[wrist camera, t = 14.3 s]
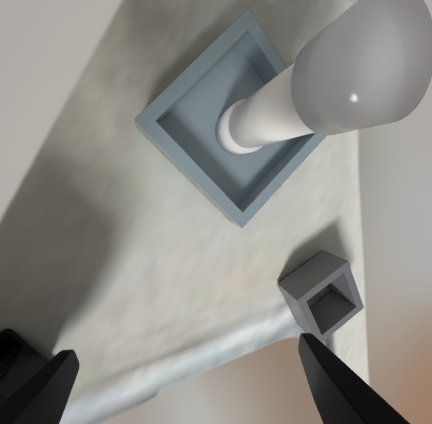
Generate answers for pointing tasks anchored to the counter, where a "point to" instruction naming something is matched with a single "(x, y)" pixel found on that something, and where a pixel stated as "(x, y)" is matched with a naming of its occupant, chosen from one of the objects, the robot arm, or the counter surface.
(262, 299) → the counter surface
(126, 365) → the counter surface
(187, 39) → the counter surface
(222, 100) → the parts tray
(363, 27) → the white rounded column
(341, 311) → the light bulb socket
